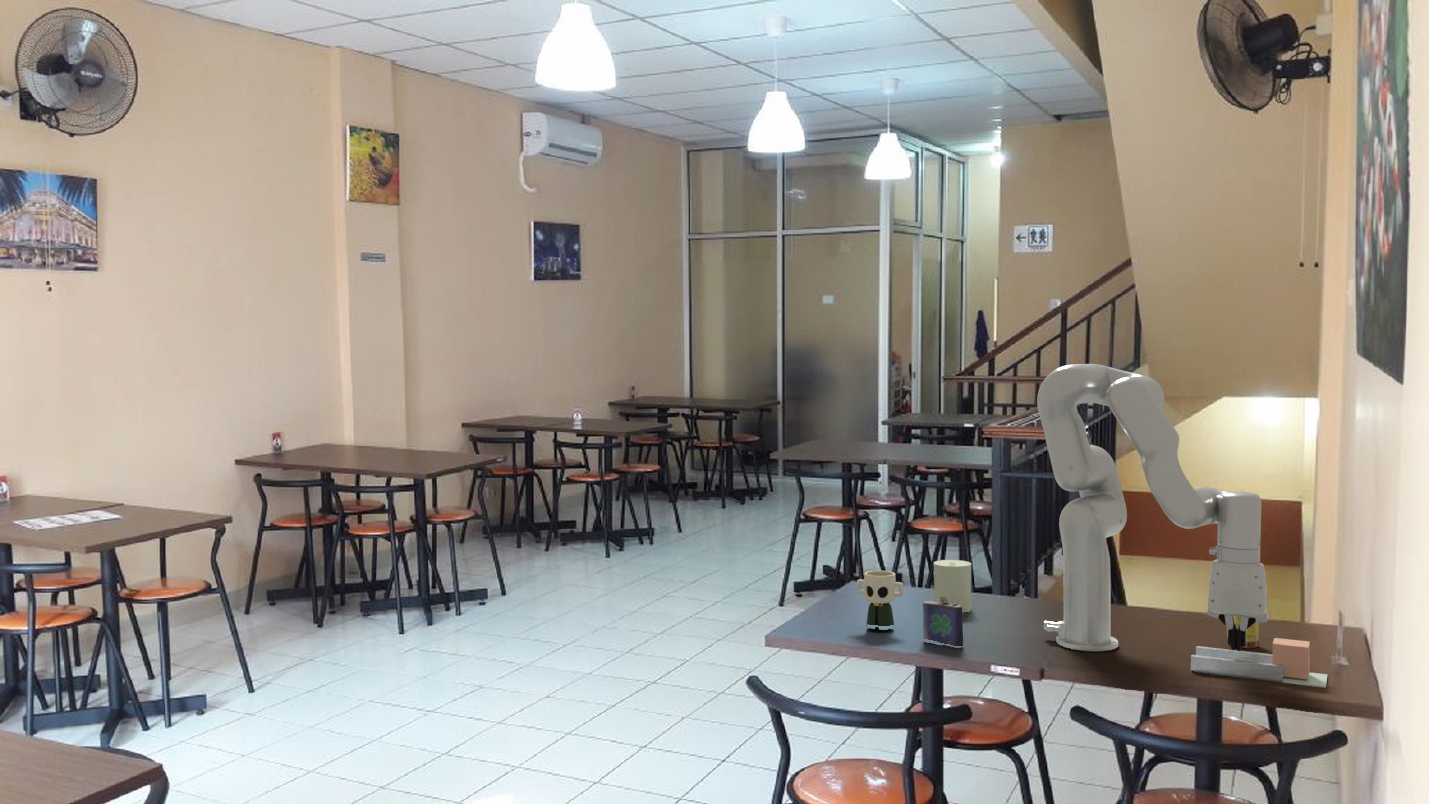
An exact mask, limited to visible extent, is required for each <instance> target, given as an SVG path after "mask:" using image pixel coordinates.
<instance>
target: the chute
mask: <svg viewBox="0 0 1429 804" xmlns="http://www.w3.org/2000/svg"><path fill="white" fill-rule="evenodd" d="M1192 671H1194V672H1193V673H1200V674H1208V673H1209V674H1211V675H1216V676H1217V675H1218V676H1225V677H1235V678H1240V679H1241V678H1242V679H1250V680H1259V681H1266V682H1267V681H1268V682H1274V683H1283V680H1284V665H1277V664H1272V653H1271V654H1270V653H1263V652H1255V651H1246V650H1241V651H1237V650H1231V649H1227V648H1226V649H1225V648H1218V647H1217V648H1216V647H1209V646H1201V645H1196V646H1195V654H1191V655H1190V672H1192ZM1201 672H1202V673H1201ZM1209 674H1208V675H1209ZM1283 684H1284V683H1283Z"/></svg>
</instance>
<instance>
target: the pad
mask: <svg viewBox="0 0 1429 804" xmlns="http://www.w3.org/2000/svg"><path fill="white" fill-rule="evenodd" d="M1327 680H1328V674H1326V673H1320V672H1319V673H1318V672H1310V673H1309V679H1301V678H1292V677H1284V680H1283V684H1291V685H1292V684H1293V685H1300V686H1307V687H1317V688H1322V689H1326V688H1327V682H1328V681H1327Z"/></svg>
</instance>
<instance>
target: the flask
mask: <svg viewBox="0 0 1429 804" xmlns="http://www.w3.org/2000/svg"><path fill="white" fill-rule="evenodd" d="M946 596H947V595H944V596H941V597H939V599H940V602H934V600H932V601H928V600H925V601H924V602H923V603H922V610H923V611H922V615H923V618H922V619H923V620H922V621H923V623H922V624H923V625H922V626H923V627H922V628H923V629H922V630H923V632H922V633H923V634H922V640H923V639H928V640H933V641H937V642H940V643H944V644H950V645H953V646H963V647H964V629H963V626H964V624H963V614H962V606H961V605H957V604H956V603H954V604H950V603H951V602H949V601H948V600H946V599H945V598H946Z"/></svg>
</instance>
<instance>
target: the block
mask: <svg viewBox="0 0 1429 804" xmlns="http://www.w3.org/2000/svg"><path fill="white" fill-rule="evenodd" d="M1310 643H1311V642H1310V641H1308V640H1300V639H1299V640H1298V639H1288V638H1279V637H1274V639H1273V641H1272V653H1271V654H1272V664H1277V665H1284V677H1292V678H1301V679H1309V673H1310V671H1311V670H1310V668H1311V667H1310V665H1311V663H1310V661H1311V659H1310V655H1311V654H1310V653H1311V649H1310V647H1311V645H1310Z"/></svg>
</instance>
